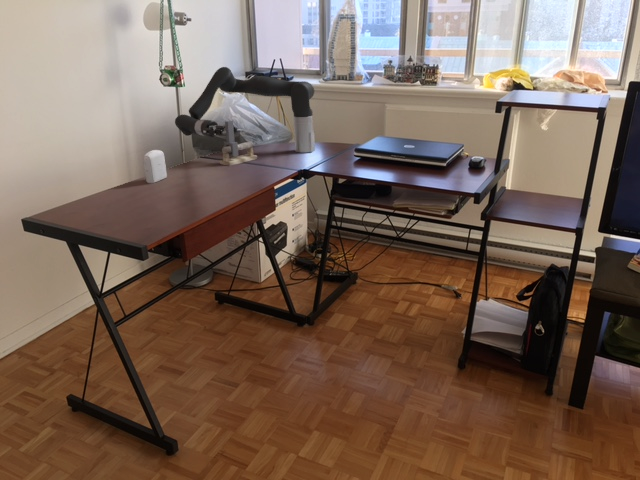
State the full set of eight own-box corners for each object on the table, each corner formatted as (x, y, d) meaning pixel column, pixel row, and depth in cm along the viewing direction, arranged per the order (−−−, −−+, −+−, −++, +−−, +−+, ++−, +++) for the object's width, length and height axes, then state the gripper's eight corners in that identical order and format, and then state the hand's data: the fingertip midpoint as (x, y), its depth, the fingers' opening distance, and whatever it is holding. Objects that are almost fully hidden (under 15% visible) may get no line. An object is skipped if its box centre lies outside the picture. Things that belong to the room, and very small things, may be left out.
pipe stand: (247, 157, 262) (246, 140, 259) (257, 158, 258) (256, 141, 255) (219, 163, 250) (218, 146, 247) (230, 165, 246) (228, 148, 243)
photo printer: (153, 183, 219) (149, 153, 215) (145, 183, 220) (140, 153, 216) (168, 177, 228) (165, 148, 224) (160, 177, 229) (156, 147, 225)
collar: (230, 154, 253) (227, 120, 247) (238, 155, 249) (235, 121, 243) (225, 155, 250) (222, 121, 245) (233, 156, 247) (230, 122, 241)
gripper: (193, 122, 249) (216, 125, 239) (217, 118, 259) (240, 120, 250) (195, 138, 252) (217, 142, 242) (219, 133, 262) (241, 137, 252)
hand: (229, 131), depth 246 cm, fingers open, 8 cm apart
